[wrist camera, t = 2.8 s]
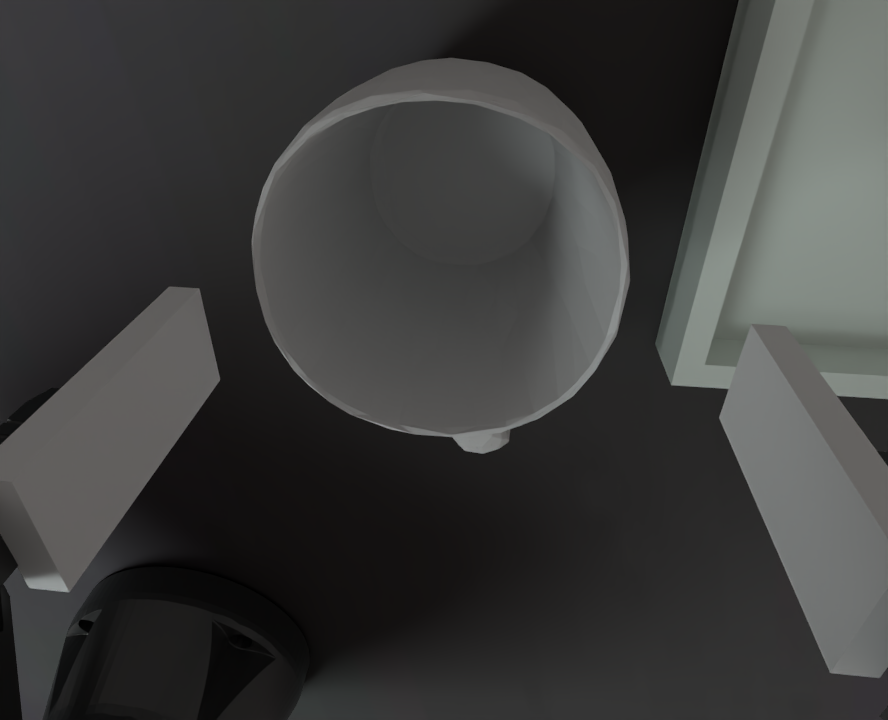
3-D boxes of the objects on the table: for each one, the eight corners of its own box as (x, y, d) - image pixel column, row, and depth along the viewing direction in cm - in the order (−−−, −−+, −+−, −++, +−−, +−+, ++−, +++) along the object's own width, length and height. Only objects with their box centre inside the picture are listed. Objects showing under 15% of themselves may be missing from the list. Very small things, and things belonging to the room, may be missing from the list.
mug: (313, 62, 21) (183, 125, 12) (579, 10, 19) (633, 43, 11) (394, 368, 27) (344, 543, 19) (596, 347, 26) (639, 528, 18)
